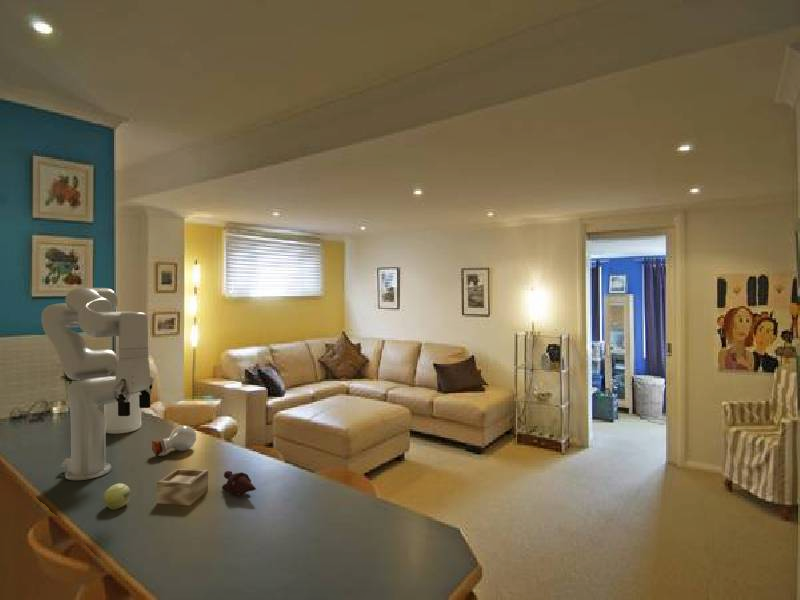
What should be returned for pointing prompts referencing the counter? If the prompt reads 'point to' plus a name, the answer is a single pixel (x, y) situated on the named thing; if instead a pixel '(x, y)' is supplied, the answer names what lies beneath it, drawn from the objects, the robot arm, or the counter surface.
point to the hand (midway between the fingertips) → (134, 411)
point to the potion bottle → (175, 440)
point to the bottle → (123, 423)
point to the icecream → (237, 483)
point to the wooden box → (182, 486)
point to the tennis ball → (117, 496)
